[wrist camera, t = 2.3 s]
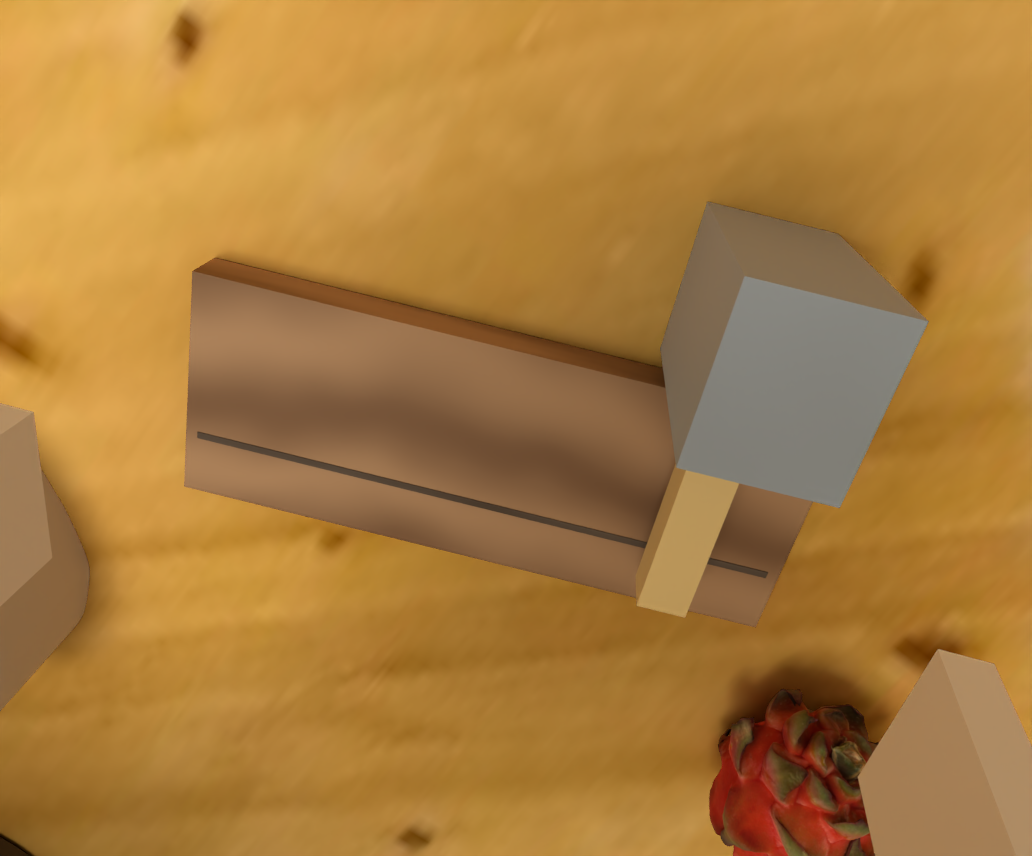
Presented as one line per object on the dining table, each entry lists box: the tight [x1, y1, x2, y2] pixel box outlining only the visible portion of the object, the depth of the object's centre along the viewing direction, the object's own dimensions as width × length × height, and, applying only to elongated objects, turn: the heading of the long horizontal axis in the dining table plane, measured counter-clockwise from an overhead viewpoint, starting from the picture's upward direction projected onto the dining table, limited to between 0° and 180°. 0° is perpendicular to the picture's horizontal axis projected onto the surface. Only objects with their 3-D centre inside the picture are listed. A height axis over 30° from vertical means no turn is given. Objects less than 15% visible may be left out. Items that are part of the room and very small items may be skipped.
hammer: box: [636, 202, 929, 618], centre depth 30 cm, size 15×5×10 cm, turn 168°
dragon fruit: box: [709, 689, 879, 856], centre depth 39 cm, size 8×8×12 cm
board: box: [184, 258, 813, 627], centre depth 35 cm, size 10×26×2 cm, turn 78°
